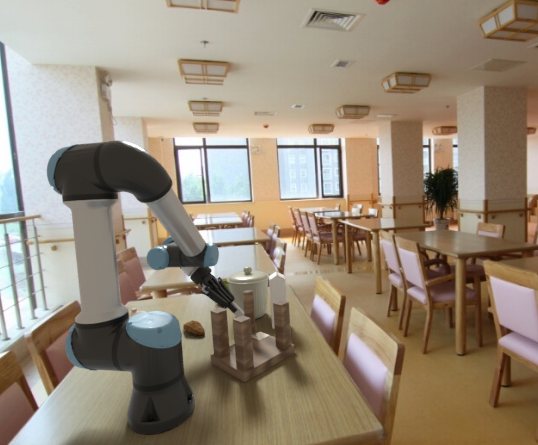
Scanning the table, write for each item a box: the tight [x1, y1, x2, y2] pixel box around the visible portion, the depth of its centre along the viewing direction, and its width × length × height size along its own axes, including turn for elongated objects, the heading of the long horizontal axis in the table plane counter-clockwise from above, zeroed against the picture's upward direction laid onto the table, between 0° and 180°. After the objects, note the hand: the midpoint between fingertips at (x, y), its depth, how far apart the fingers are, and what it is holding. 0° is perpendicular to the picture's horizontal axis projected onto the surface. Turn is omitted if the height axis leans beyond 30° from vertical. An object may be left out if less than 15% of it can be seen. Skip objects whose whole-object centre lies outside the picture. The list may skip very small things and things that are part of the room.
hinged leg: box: [243, 290, 257, 335], centre depth 106 cm, size 11×4×15 cm, turn 162°
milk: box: [268, 268, 288, 330], centre depth 121 cm, size 6×6×22 cm
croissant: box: [182, 320, 206, 338], centre depth 120 cm, size 14×7×5 cm, turn 45°
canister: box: [226, 266, 270, 320], centre depth 133 cm, size 18×18×21 cm
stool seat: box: [210, 300, 296, 383], centre depth 98 cm, size 21×16×16 cm
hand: (243, 317), depth 111 cm, fingers closed
